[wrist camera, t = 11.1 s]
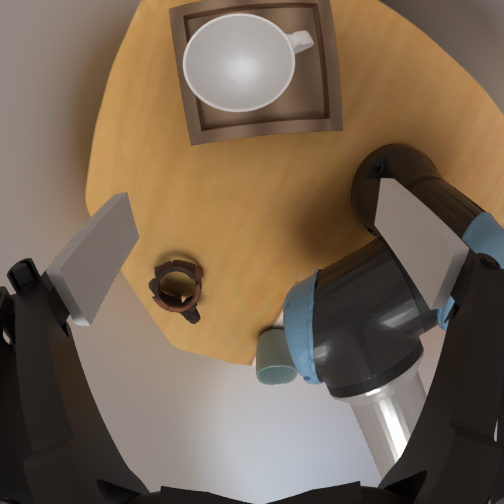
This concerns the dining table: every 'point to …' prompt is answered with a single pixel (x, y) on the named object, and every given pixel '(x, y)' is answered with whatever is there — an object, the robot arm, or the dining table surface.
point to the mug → (241, 61)
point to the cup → (274, 359)
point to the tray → (298, 91)
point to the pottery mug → (175, 302)
